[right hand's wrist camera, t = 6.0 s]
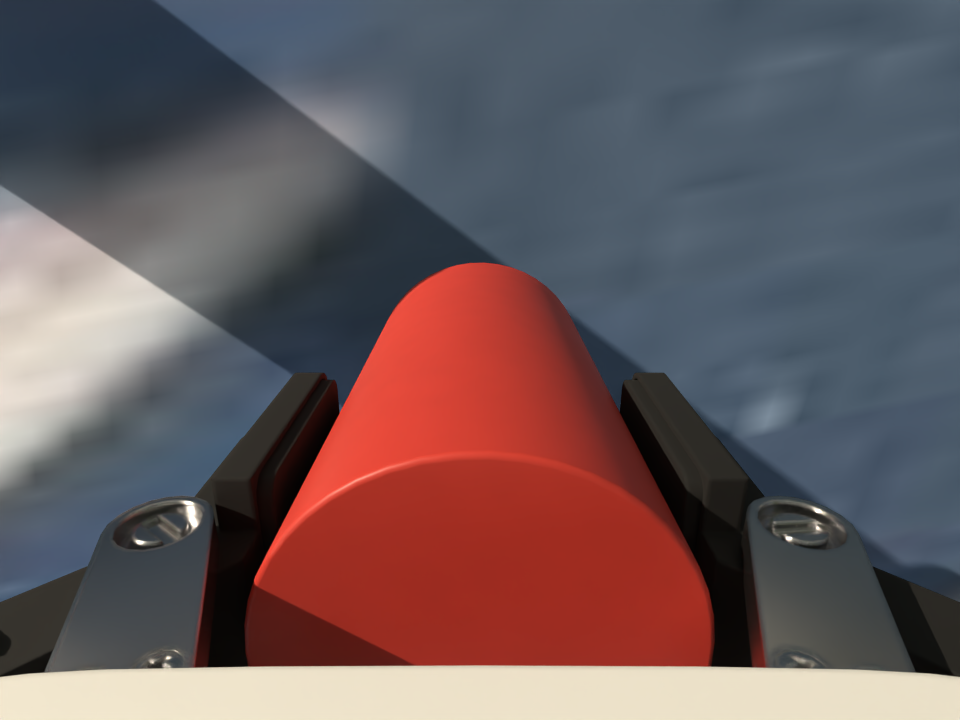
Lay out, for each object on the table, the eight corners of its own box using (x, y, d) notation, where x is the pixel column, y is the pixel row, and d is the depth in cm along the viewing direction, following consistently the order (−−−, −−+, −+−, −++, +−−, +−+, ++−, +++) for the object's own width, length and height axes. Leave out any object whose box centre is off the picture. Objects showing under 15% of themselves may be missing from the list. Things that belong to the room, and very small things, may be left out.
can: (345, 389, 17) (167, 715, 7) (446, 221, 15) (388, 355, 6) (508, 479, 18) (541, 871, 8) (619, 331, 16) (818, 602, 7)
